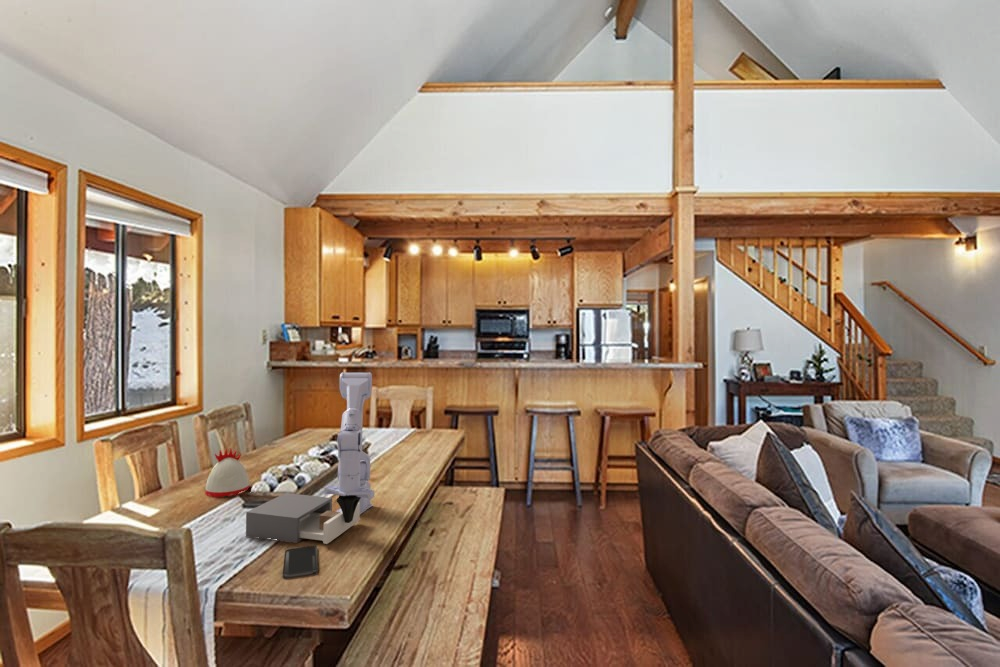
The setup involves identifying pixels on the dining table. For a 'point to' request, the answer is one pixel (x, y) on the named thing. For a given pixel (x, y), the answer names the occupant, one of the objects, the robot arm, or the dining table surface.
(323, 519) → the walnut block
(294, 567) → the phone
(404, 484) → the dining table surface
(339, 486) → the robot arm
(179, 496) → the dining table surface
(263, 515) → the box housing
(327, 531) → the tray
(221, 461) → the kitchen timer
